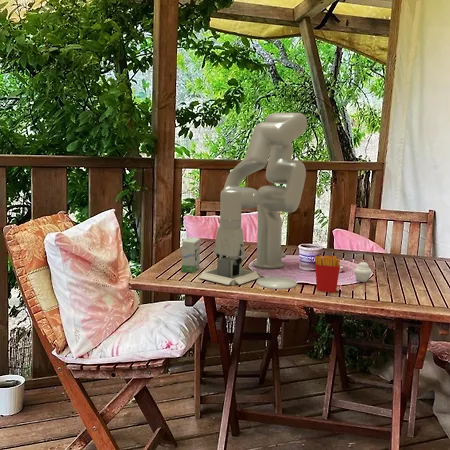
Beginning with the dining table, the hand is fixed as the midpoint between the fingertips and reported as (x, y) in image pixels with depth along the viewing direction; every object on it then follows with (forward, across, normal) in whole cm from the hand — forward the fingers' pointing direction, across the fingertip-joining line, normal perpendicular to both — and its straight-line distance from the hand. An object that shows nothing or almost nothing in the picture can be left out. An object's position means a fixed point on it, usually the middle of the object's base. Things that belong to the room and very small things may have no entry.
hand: (229, 273), depth 192 cm
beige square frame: (+2, 0, 0) cm, 2 cm away
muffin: (+2, +38, +29) cm, 48 cm away
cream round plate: (+2, +17, +5) cm, 18 cm away
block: (+2, 0, 0) cm, 2 cm away
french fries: (+2, +34, +9) cm, 35 cm away
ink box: (+2, -18, -1) cm, 18 cm away
